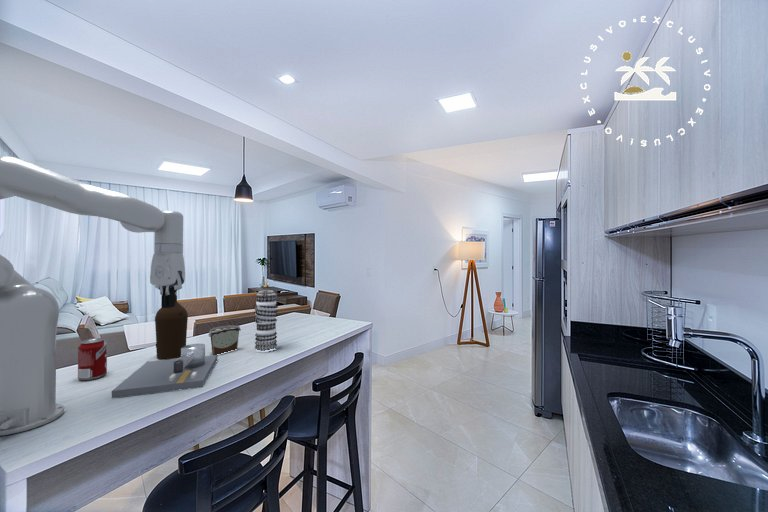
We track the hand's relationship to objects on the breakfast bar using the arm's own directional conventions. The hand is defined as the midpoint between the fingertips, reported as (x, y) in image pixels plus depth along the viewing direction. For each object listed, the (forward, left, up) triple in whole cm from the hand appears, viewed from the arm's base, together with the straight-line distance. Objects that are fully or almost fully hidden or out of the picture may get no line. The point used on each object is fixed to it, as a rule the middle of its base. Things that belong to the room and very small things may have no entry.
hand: (168, 307), depth 97 cm
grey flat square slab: (+2, -1, -23) cm, 23 cm away
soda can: (+10, +23, -23) cm, 34 cm away
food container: (+26, -12, -23) cm, 37 cm away
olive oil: (+27, +6, -23) cm, 36 cm away
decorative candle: (+23, -29, -23) cm, 43 cm away
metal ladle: (-1, -6, -21) cm, 21 cm away
